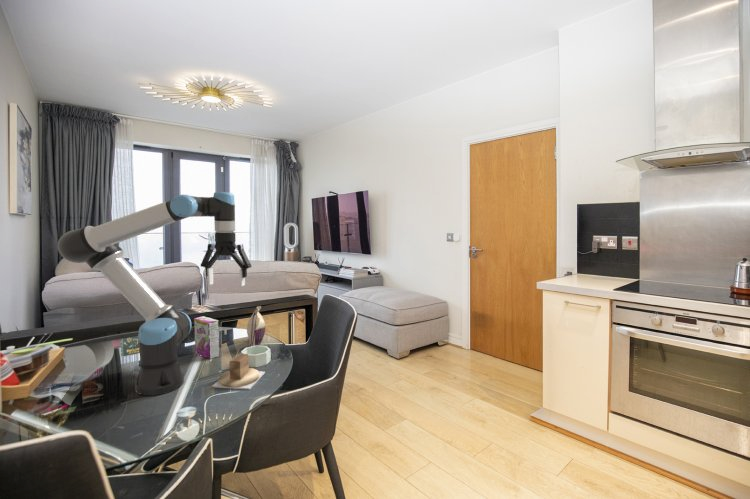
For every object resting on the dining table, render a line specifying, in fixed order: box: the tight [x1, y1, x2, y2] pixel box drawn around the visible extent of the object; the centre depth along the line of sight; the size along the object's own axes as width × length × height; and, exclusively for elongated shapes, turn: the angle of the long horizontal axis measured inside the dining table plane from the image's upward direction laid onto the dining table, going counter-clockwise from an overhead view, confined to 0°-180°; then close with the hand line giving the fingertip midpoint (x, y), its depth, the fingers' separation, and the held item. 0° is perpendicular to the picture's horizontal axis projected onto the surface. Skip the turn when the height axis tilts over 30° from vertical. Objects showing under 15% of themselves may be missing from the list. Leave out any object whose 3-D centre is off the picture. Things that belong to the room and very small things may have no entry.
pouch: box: [246, 305, 266, 347], centre depth 173 cm, size 25×8×19 cm, turn 13°
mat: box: [211, 370, 266, 390], centre depth 137 cm, size 14×14×1 cm
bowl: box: [240, 345, 272, 368], centre depth 154 cm, size 11×11×5 cm
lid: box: [218, 353, 259, 387], centre depth 137 cm, size 14×14×8 cm
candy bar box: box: [193, 316, 220, 360], centre depth 159 cm, size 11×5×16 cm, turn 58°
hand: (226, 285), depth 145 cm, fingers open, 13 cm apart
